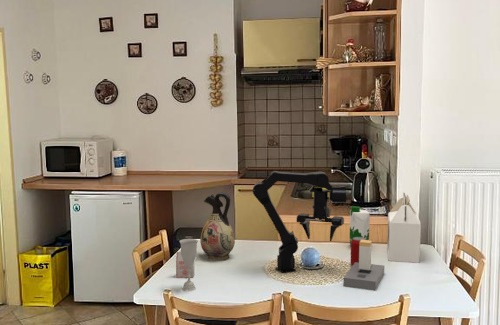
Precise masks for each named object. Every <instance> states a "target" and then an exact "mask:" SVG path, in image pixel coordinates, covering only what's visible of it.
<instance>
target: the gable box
mask: <svg viewBox="0 0 500 325" xmlns="http://www.w3.org/2000/svg"><path fill="white" fill-rule="evenodd" d="M421 231H422V223H421V220H420V218H419V216H418V214H417V212H416V211H415V209H414V207H413V206H412V205H411V202H410V198H409V195H408V194H406V193H405V192H402V198H399V199H398V200H397V201H396V203H395V204H394V205H393V206H392V208H391V210H390V211H389V212H388V213H387V237H386V239H387V246H386V251H387V252H386V253H387V260H388V261H389V262H402V263H415V264H419V263H420V258H421V257H420V255H421V254H420V253H421V233H422V232H421Z"/></svg>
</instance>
